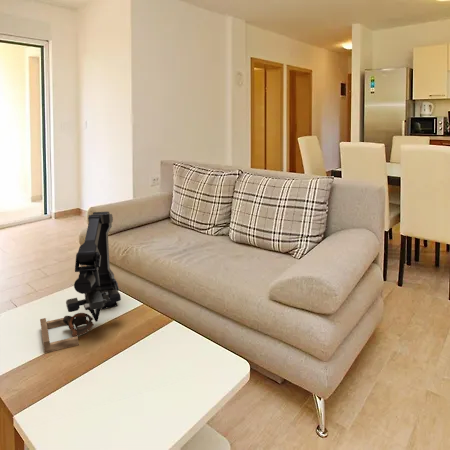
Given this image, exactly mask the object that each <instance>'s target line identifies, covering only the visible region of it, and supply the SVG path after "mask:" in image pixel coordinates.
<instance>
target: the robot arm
mask: <svg viewBox="0 0 450 450" xmlns="http://www.w3.org/2000/svg"><path fill="white" fill-rule="evenodd" d="M87 219H88V221H87V222H88V223H87V224H88V225H87V228H86V229H87V230H86V234H85V237H84V238H85V239H84V242H83V243H82V244H81V245H80V246H79V248H78V250H77V253H76V255H75V265H74V273H78V277H77V278H76V280H75V281H74V284H73V287H74V290H75V291H76V292H77V293H78V294H83V295H84V298H83V299H79V300H78V297H73V298H69V299H66V301H65V304H66V309H67V312H68V313H73V312H77V311H79V310H80V306H83V308H84V310H85V311H89V312H90V314H91V317H92V318H93V320H94V321H95V323H97V322H98V321H99V317H100V313H101V310H105V309H108V308H113V307H118V302H121V300H122V297H121V294H120V289H119V283H118V281H117V279H116V278H115V274H114V272H113V271H112V269H111V268H110V249H109V248H110V247H109V246H110V245H109V232H110V230H111V228H112V225H113V224H112V223H113V222H114V217H113V214H112V213H110V211H93V212H92V214H89V215H88V218H87Z"/></svg>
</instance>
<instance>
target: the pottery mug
mask: <svg viewBox="0 0 450 450" xmlns="http://www.w3.org/2000/svg"><path fill="white" fill-rule="evenodd" d="M62 318H63V322H64V323H65V324H66V325H65V326H67V327H68V328H69V330H70V331H71V332H72V333H71V336H72V337H76V336H82V335H84V334H86V333H88V332H89V331H90V330H91V329H92V327H94V326H95V324H94V323H93V320H94V318H93V316H92V315H90V314H88V313H86V312H78V313H75V314H74V315H65V316H63V317H62ZM87 318H88V319H87ZM83 325H84V326H83ZM80 326H82V327H80Z"/></svg>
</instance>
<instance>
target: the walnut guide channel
mask: <svg viewBox="0 0 450 450" xmlns="http://www.w3.org/2000/svg"><path fill="white" fill-rule="evenodd" d="M63 318H64V317H61V318H56V319H52V320H48V321H47V318H46V317H44V318H40V319H39V321H40V329H41V335H42V336H41V337H42V343H43V348H44V349H43V350H44V354H47V353H50V352H55V351H58V350H62V349H66V348H67V349H68V348H70V347H75V346H78V345H79V344H80V343H79V337H78V336H76V337H73V336H72V337H68V338H64V339H61V340H56V341H52V342H50V336H49V330H52V329H55V328H60V327H64V326H67V325H66V324H65V323H64V322H63Z"/></svg>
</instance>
